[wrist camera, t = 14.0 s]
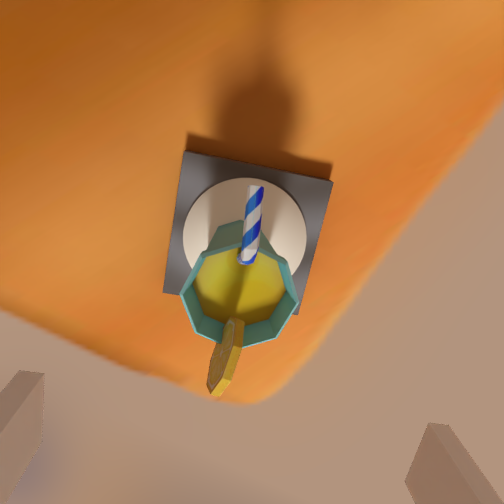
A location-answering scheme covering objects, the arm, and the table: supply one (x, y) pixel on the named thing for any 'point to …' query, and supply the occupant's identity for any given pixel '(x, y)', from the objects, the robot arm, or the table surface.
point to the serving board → (233, 208)
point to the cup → (238, 291)
